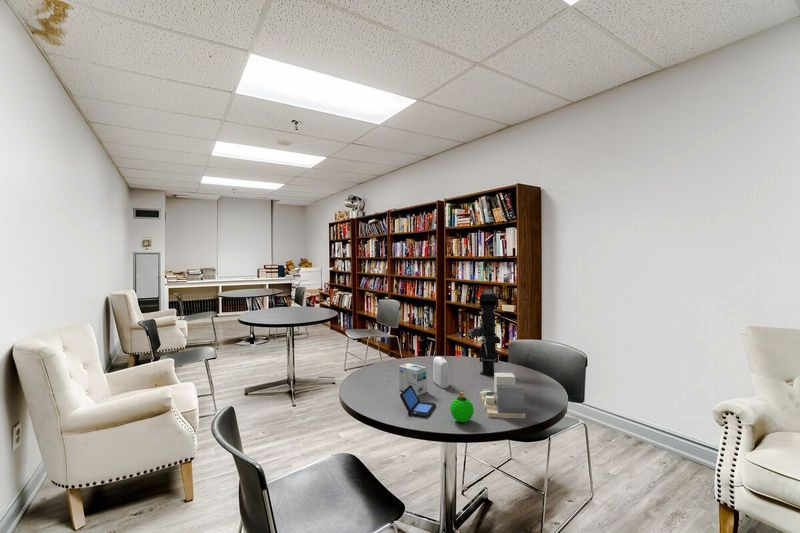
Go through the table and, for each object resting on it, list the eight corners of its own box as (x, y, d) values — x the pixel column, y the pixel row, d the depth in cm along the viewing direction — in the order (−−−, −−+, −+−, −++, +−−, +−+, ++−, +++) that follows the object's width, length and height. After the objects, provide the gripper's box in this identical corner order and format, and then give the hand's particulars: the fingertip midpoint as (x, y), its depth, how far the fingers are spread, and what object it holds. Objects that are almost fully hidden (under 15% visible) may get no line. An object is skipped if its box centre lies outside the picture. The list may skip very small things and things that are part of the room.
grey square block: (496, 409, 131) (496, 384, 131) (521, 410, 130) (521, 385, 130) (498, 412, 128) (497, 387, 128) (523, 413, 127) (523, 388, 127)
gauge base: (480, 394, 149) (479, 385, 149) (511, 395, 148) (511, 386, 148) (488, 417, 128) (488, 406, 127) (525, 418, 126) (525, 407, 126)
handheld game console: (427, 419, 127) (427, 398, 126) (399, 415, 130) (398, 394, 130) (436, 406, 138) (436, 387, 138) (410, 402, 142) (410, 383, 142)
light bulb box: (427, 392, 153) (427, 366, 153) (417, 396, 148) (417, 370, 148) (408, 386, 160) (408, 362, 160) (398, 390, 155) (398, 365, 155)
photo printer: (450, 387, 158) (449, 359, 158) (441, 388, 156) (441, 360, 156) (440, 380, 167) (440, 354, 167) (432, 381, 166) (432, 355, 166)
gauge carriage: (485, 397, 141) (485, 372, 141) (512, 398, 140) (512, 372, 140) (488, 405, 134) (488, 378, 134) (517, 406, 133) (516, 379, 133)
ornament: (445, 422, 124) (445, 393, 124) (457, 414, 130) (457, 386, 130) (466, 428, 119) (466, 398, 119) (478, 420, 125) (478, 392, 125)
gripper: (466, 318, 170) (466, 352, 170) (474, 323, 152) (474, 360, 151) (490, 319, 170) (490, 352, 170) (500, 323, 151) (500, 361, 151)
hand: (488, 356), depth 160 cm, fingers closed
